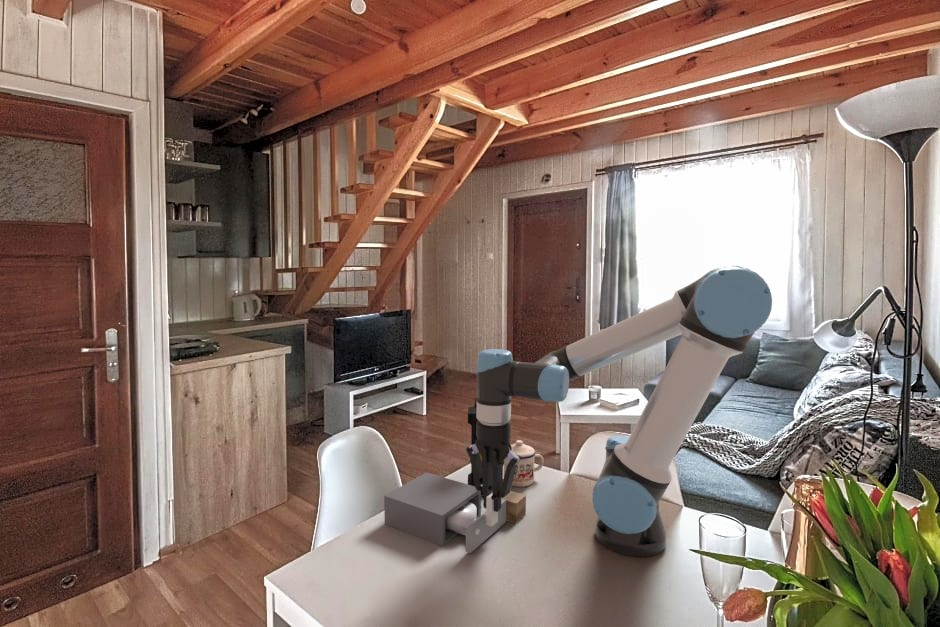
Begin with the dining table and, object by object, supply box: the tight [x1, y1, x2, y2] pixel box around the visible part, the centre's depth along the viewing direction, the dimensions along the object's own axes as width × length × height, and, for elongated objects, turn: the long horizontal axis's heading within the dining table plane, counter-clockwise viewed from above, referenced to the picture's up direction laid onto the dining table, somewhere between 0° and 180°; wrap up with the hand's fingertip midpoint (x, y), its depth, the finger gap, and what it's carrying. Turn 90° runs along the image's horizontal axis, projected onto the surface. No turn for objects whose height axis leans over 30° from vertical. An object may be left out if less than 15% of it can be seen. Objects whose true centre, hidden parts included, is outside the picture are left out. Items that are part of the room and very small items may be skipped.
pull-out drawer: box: [445, 499, 507, 554], centre depth 117 cm, size 18×16×5 cm
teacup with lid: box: [503, 440, 545, 488], centre depth 143 cm, size 12×9×12 cm
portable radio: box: [467, 397, 483, 496], centre depth 135 cm, size 8×6×25 cm
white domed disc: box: [445, 502, 477, 530], centre depth 117 cm, size 8×8×3 cm
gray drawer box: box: [383, 472, 482, 547], centre depth 121 cm, size 17×16×7 cm
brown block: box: [501, 490, 527, 524], centre depth 123 cm, size 5×5×5 cm
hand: (491, 523), depth 112 cm, fingers closed
